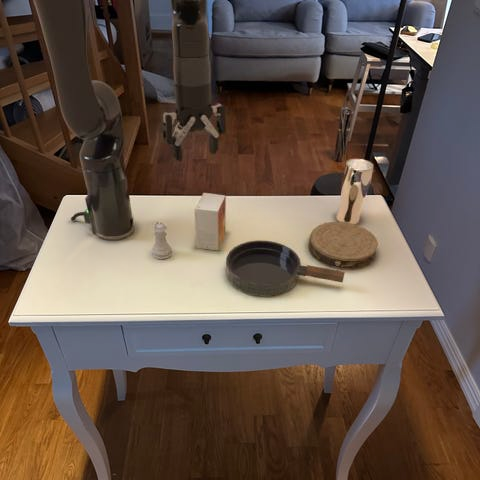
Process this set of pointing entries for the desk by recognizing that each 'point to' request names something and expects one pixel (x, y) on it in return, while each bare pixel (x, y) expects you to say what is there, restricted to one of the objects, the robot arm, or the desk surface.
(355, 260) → the wood slice
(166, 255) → the rook chess piece
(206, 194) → the small box
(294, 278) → the pan
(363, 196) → the silver metal cup
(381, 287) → the desk surface
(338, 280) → the pan handle
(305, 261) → the desk surface
